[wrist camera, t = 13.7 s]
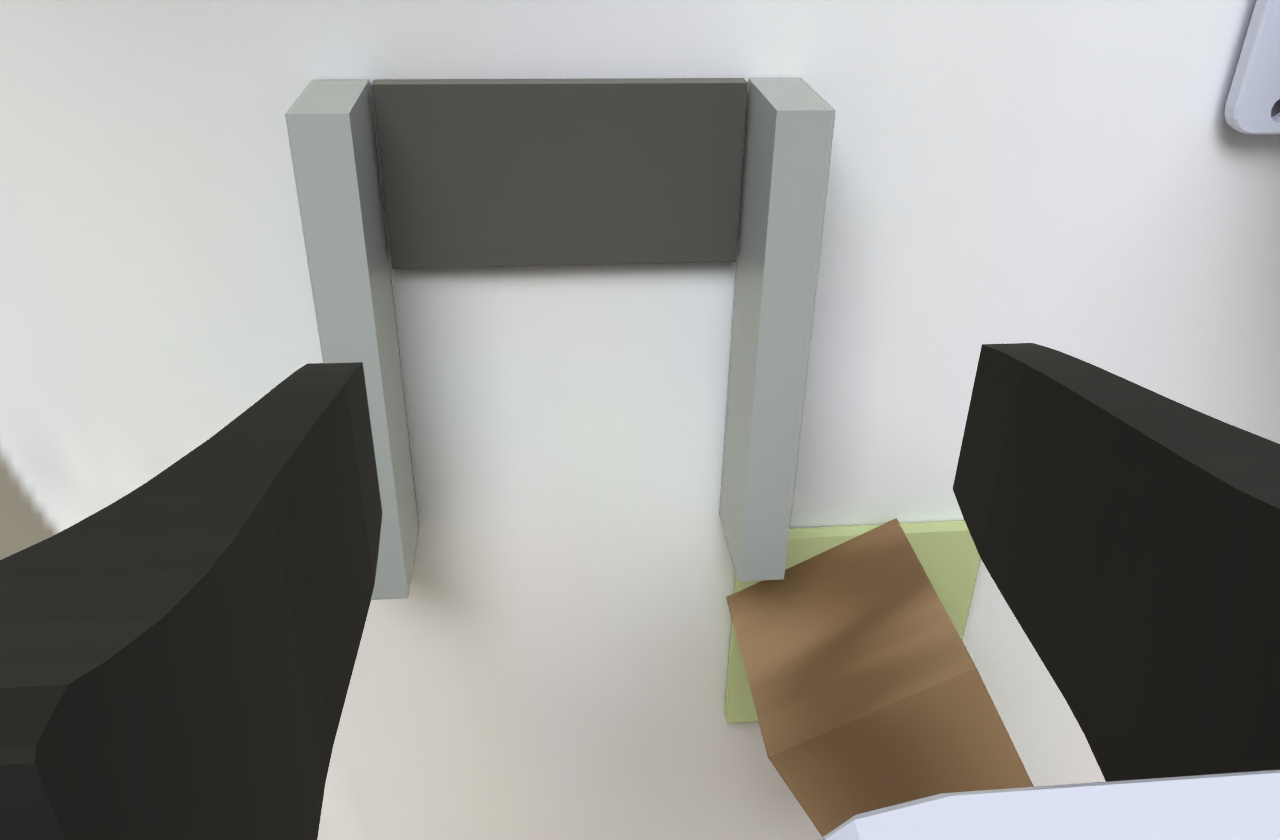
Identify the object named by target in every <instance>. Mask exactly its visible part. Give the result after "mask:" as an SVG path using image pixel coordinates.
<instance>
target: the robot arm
mask: <svg viewBox="0 0 1280 840" xmlns="http://www.w3.org/2000/svg"><path fill="white" fill-rule="evenodd" d="M1279 99H1280V0H1256V4H1255V7H1254V10H1253V14H1252V17H1251V21H1250V24H1249V27H1248V31H1247V34H1246V37H1245V41H1244V44H1243V48H1242V51H1241V54H1240V58H1239V61H1238V65H1237V68H1236V71H1235V75H1234V78H1233V81H1232V85H1231V88H1230V92H1229V95H1228V98H1227V102H1226V105H1225V114H1224V116H1225V119H1226V122H1227V124H1228V125H1229V126H1230V127H1231V128H1233V129H1234V130H1237V131H1239V132H1241V133H1245V134H1250V135H1273V134H1280V112H1279V113H1278V114H1276V115H1275V116H1274V117H1271V109H1272V107H1273V106H1274V104H1275V102H1276V101H1278V100H1279ZM953 491H954V493H955V496H956V499H957V501H958V504H959V507H960V509H961V512H962V515H963V517H964V520H965V523H966V525H967V528H968V530H969V532H970V535H971V537H972V539H973V542H974V544H975V546H976V549H977V551H978V553H979V556H980V557H981V559H982V561H983V563H984V564H985V566H986V568H987V570H988V572H989V573H990V575H991V577H992V578H993V580H994V582H995V583H996V585H997V587H998V589H999V590H1000V592H1001V594H1002V595H1003V597H1004V599H1005V600H1006V602H1007V604H1008V605H1009V607H1010V609H1011V610H1012V612H1013V614H1014V615H1015V617H1016V619H1017V620H1018V622H1019V624H1020V625H1021V627H1022V629H1023V630H1024V632H1025V633H1026V635H1027V637H1028V638H1029V640H1030V642H1031V643H1032V645H1033V647H1034V648H1035V650H1036V652H1037V653H1038V655H1039V657H1040V658H1041V660H1042V661H1043V663H1044V665H1045V666H1046V668H1047V670H1048V671H1049V673H1050V675H1051V676H1052V678H1053V680H1054V681H1055V683H1056V685H1057V686H1058V688H1059V690H1060V691H1061V693H1062V694H1063V696H1064V698H1065V699H1066V701H1067V703H1068V705H1069V707H1070V709H1071V710H1072V712H1073V714H1074V716H1075V718H1076V720H1077V721H1078V723H1079V725H1080V727H1081V729H1082V731H1083V732H1084V734H1085V737H1086V739H1087V741H1088V743H1089V745H1090V747H1091V750H1092V752H1093V754H1094V756H1095V758H1096V761H1097V763H1098V765H1099V767H1100V769H1101V771H1102V774H1103V776H1104V778H1105V780H1106V782H1096V783H1082V784H1068V785H1054V786H1039V787H1025V788H1011V789H997V790H982V791H968V792H954V793H941V794H937V795H933V796H929V797H925V798H921V799H917V800H913V801H909V802H905V803H901V804H897V805H893V806H889V807H885V808H881V809H877V810H873V811H869V812H865V813H861V814H857V815H855V816H853V817H852V818H850V819H849V820H847V821H846V822H844V823H843V824H841V825H840V826H838V827H837V828H836V829H834V830H833V831H831V832H830V833H828V834H827V835H825V836H824V837H822V838H821V839H819V840H1280V444H1278V443H1275V442H1273V441H1270V440H1268V439H1265V438H1262V437H1260V436H1257V435H1255V434H1252V433H1250V432H1247V431H1245V430H1242V429H1240V428H1237V427H1234V426H1232V425H1229V424H1227V423H1224V422H1222V421H1220V420H1217V419H1215V418H1213V417H1210V416H1208V415H1205V414H1203V413H1201V412H1198V411H1196V410H1194V409H1191V408H1189V407H1187V406H1184V405H1182V404H1180V403H1177V402H1175V401H1173V400H1171V399H1168V398H1166V397H1164V396H1162V395H1159V394H1157V393H1155V392H1153V391H1150V390H1148V389H1146V388H1144V387H1141V386H1139V385H1137V384H1135V383H1133V382H1130V381H1128V380H1126V379H1123V378H1121V377H1119V376H1117V375H1114V374H1112V373H1110V372H1108V371H1105V370H1103V369H1101V368H1099V367H1096V366H1094V365H1092V364H1089V363H1087V362H1084V361H1082V360H1080V359H1077V358H1075V357H1072V356H1070V355H1067V354H1065V353H1062V352H1059V351H1056V350H1053V349H1051V348H1048V347H1044V346H1040V345H1037V344H1033V343H1020V344H984V345H982V347H981V352H980V357H979V362H978V367H977V372H976V377H975V382H974V387H973V392H972V397H971V402H970V407H969V412H968V417H967V421H966V426H965V431H964V436H963V441H962V446H961V451H960V456H959V461H958V466H957V471H956V476H955V481H954V486H953ZM381 522H382V505H381V498H380V490H379V483H378V475H377V467H376V460H375V452H374V445H373V437H372V429H371V422H370V414H369V407H368V399H367V391H366V384H365V376H364V369H363V362H354V363H319V364H306V365H305V366H303V367H302V368H300V369H298V370H297V371H296V372H294V373H293V374H292V375H290V376H289V377H288V378H286V379H285V380H284V381H283V382H281V383H280V384H279V385H277V386H276V387H275V388H274V389H272V390H271V391H270V392H269V393H267V394H266V395H265V396H264V397H262V398H261V399H260V400H259V401H258V402H256V403H255V404H254V405H253V406H251V407H250V408H249V409H247V410H246V411H245V412H244V413H242V414H241V415H240V416H238V417H237V418H236V419H235V420H233V421H232V422H231V423H229V424H228V425H227V426H226V427H224V428H223V429H222V430H220V431H219V432H218V433H217V434H215V435H214V436H213V437H211V438H210V439H209V440H207V441H206V442H204V443H203V444H202V445H200V446H199V447H197V448H196V449H194V450H193V451H191V452H190V453H189V454H187V455H186V456H184V457H183V458H181V459H180V460H179V461H177V462H176V463H174V464H173V465H171V466H170V467H168V468H167V469H166V470H164V471H163V472H161V473H160V474H158V475H157V476H156V477H154V478H153V479H151V480H150V481H148V482H147V483H145V484H144V485H142V486H141V487H139V488H137V489H136V490H134V491H133V492H131V493H129V494H128V495H126V496H124V497H123V498H121V499H119V500H118V501H116V502H114V503H113V504H111V505H109V506H108V507H106V508H104V509H102V510H100V511H98V512H97V513H95V514H93V515H91V516H89V517H88V518H86V519H84V520H82V521H80V522H79V523H77V524H75V525H73V526H71V527H69V528H68V529H66V530H64V531H62V532H60V533H58V534H56V535H54V536H52V537H51V538H48V539H46V540H44V541H42V542H39V543H37V544H35V545H33V546H31V547H28V548H27V549H24V550H22V551H20V552H18V553H15V554H13V555H11V556H9V557H7V558H4V559H2V560H0V840H317V837H318V830H319V823H320V816H321V809H322V802H323V795H324V788H325V782H326V777H327V772H328V767H329V763H330V758H331V753H332V748H333V744H334V740H335V736H336V732H337V729H338V725H339V721H340V717H341V713H342V709H343V706H344V702H345V698H346V694H347V690H348V687H349V683H350V679H351V675H352V671H353V667H354V664H355V660H356V656H357V652H358V648H359V645H360V641H361V637H362V633H363V629H364V625H365V621H366V617H367V613H368V609H369V605H370V601H371V597H372V593H373V589H374V585H375V577H376V569H377V560H378V552H379V542H380V532H381Z"/></svg>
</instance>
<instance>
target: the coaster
mask: <svg viewBox="0 0 1280 840" xmlns="http://www.w3.org/2000/svg"><path fill="white" fill-rule="evenodd" d="M899 524H900V526H901V528H902V529H903V531H904V533H905V535H906V537H907V539H908V541H909V543H910V544H911V546H912V548H913V550H914V552H915V554H916V556H917V558H918V559H919V561H920V563H921V565H922V567H923V569H924V571H925V573H926V574H927V576H928V578H929V580H930V582H931V584H932V586H933V588H934V589H935V591H936V593H937V595H938V597H939V599H940V601H941V603H942V604H943V606H944V608H945V610H946V612H947V614H948V616H949V617H950V619H951V621H952V623H953V625H954V627H955V629H956V631H957V632H958V634H959V636H960V638H961V640H962V638H963V634H964V629H965V625H966V620H967V616H968V612H969V607H970V603H971V598H972V594H973V590H974V585H975V581H976V576H977V572H978V568H979V563H980V559H981V557H980V556H979V553H978V551H977V549H976V546H975V544H974V542H973V539H972V537H971V535H970V532H969V530H968V528H967V525H966V523H965V521H944V522H922V523H899ZM881 525H883V524H877V525H855V526H833V527H810V528H790V529H789V538H788V547H787V556H786V565H785V570H786V569H788V568H790V567H792V566H795V565H797V564H799V563H801V562H803V561H805V560H808V559H810V558H812V557H814V556H816V555H818V554H820V553H823V552H825V551H827V550H829V549H831V548H833V547H836V546H838V545H840V544H842V543H844V542H846V541H848V540H851V539H853V538H855V537H857V536H859V535H861V534H863V533H866V532H868V531H870V530H872V529H874V528H876V527H879V526H881ZM761 581H762V580H761ZM758 582H760V581H741V582H738V579H737V575H736V573H735V586H734V593H737V592H739V591H741V590H743V589H745V588H747V587H749V586H752V585H754V584H756V583H758ZM724 713H725V717H726V722H727V723H742V722H758V721H759V720H758V716H757V713H756V709H755V705H754V701H753V697H752V693H751V690H750V686H749V682H748V678H747V674H746V670H745V667H744V663H743V659H742V655H741V651H740V647H739V644H738V640H737V636H736V632H735V628H734V625H733V621H732V623H731V636H730V648H729V661H728V673H727V686H726V698H725V711H724Z"/></svg>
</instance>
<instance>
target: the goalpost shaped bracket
mask: <svg viewBox="0 0 1280 840" xmlns="http://www.w3.org/2000/svg"><path fill="white" fill-rule="evenodd" d="M747 85H748V99H747ZM372 91H373V100H374V109H375V118H376V127H377V136H378V145H379V155H380V164H381V173H382V182H383V191H384V200H385V209H386V218H387V227H388V236H389V245H390V255H391V264H392V269H402V268H451V267H501V266H549V265H598V264H648V263H696V262H736V276H735V291H734V306H733V321H732V335H731V350H730V365H729V380H728V395H727V409H726V424H725V439H724V454H723V469H722V483H721V498H720V513H719V515H720V518H721V522H722V525H723V529H724V533H725V536H726V540H727V543H728V547H729V550H730V554H731V557H732V561H733V564H734V568H735V572H736V575H737V579H738V582H741V581H761V580H782V579H784V574H785V565H786V556H787V547H788V538H789V529H790V520H791V511H792V502H793V492H794V483H795V474H796V465H797V456H798V447H799V438H800V429H801V420H802V411H803V401H804V392H805V383H806V374H807V365H808V356H809V347H810V338H811V329H812V320H813V311H814V301H815V292H816V283H817V274H818V265H819V256H820V247H821V238H822V229H823V220H824V211H825V201H826V192H827V183H828V174H829V165H830V156H831V147H832V138H833V129H834V120H835V109H834V108H833V107H832V106H830V105H829V104H828V103H827V102H826V101H825V100H824V99H823V98H822V97H821V96H820V95H819V94H818V93H817V92H815V91H814V90H813V89H812V88H811V87H810V86H809V85H808V84H807V83H806V82H805V81H804V80H803V79H802V78H749V84H748V83H747V82H746V80H745V79H744V78H678V79H410V80H374V81H373V83H372ZM746 99H747V113H746ZM745 114H746V128H745ZM285 116H286V123H287V129H288V136H289V142H290V149H291V155H292V162H293V168H294V175H295V181H296V188H297V194H298V201H299V208H300V214H301V221H302V227H303V234H304V240H305V247H306V253H307V260H308V266H309V273H310V279H311V286H312V293H313V299H314V306H315V312H316V319H317V325H318V332H319V338H320V345H321V351H322V358H323V363H354V362H363V369H364V376H365V384H366V391H367V399H368V407H369V414H370V422H371V429H372V437H373V445H374V452H375V460H376V467H377V475H378V483H379V490H380V498H381V505H382V522H381V532H380V542H379V552H378V560H377V569H376V577H375V585H374V589H373V593H372V597H371V600H377V599H398V598H408V597H409V590H410V583H411V577H412V570H413V563H414V556H415V549H416V543H417V536H418V529H419V526H418V517H417V508H416V499H415V490H414V481H413V472H412V463H411V454H410V445H409V436H408V427H407V418H406V409H405V400H404V391H403V382H402V373H401V364H400V355H399V346H398V337H397V328H396V319H395V310H394V301H393V292H392V283H391V274H390V265H389V256H388V247H387V238H386V229H385V220H384V211H383V202H382V193H381V184H380V175H379V166H378V157H377V148H376V139H375V130H374V121H373V112H372V103H371V94H370V85H369V80H312V81H311V82H310V84H309V85H308V86H307V87H306V89H305V90H304V91H303V92H302V94H301V95H300V96H299V97H298V99H297V100H296V101H295V102H294V104H293V105H292V106H291V107H290V109H289V110H288V111H287V112H286V113H285ZM744 129H745V143H744ZM743 144H744V158H743ZM742 159H743V173H742ZM741 174H742V187H741ZM740 189H741V202H740ZM739 204H740V217H739ZM738 219H739V232H738ZM737 233H738V247H737ZM736 248H737V261H736Z"/></svg>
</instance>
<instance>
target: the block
mask: <svg viewBox="0 0 1280 840" xmlns="http://www.w3.org/2000/svg"><path fill="white" fill-rule="evenodd" d="M726 598H727V602H728V605H729V609H730V613H731V617H732V621H733V625H734V628H735V632H736V636H737V640H738V644H739V647H740V651H741V655H742V659H743V663H744V667H745V670H746V674H747V678H748V682H749V686H750V690H751V693H752V697H753V701H754V705H755V709H756V713H757V716H758V720H759V724H760V728H761V732H762V735H763V739H764V743H765V747H766V751H767V755H768V758H769V759H770V761H771V762H772V764H773V765H774V767H775V768H776V770H777V771H778V772H779V774H780V775H781V777H782V778H783V780H784V781H785V783H786V784H787V786H788V787H789V789H790V790H791V791H792V793H793V794H794V796H795V797H796V799H797V800H798V802H799V803H800V805H801V806H802V808H803V809H804V810H805V812H806V813H807V815H808V816H809V818H810V819H811V821H812V822H813V824H814V825H815V827H816V828H817V829H818V831H819V832H820V834H821V835H822V837H824V836H825V835H827V834H828V833H830V832H831V831H833V830H834V829H836V828H837V827H838V826H840V825H841V824H843V823H844V822H846V821H847V820H849V819H850V818H852V817H853V816H855V815H857V814H861V813H865V812H869V811H873V810H877V809H881V808H885V807H889V806H893V805H897V804H901V803H905V802H909V801H913V800H917V799H921V798H925V797H929V796H933V795H937V794H941V793H954V792H968V791H982V790H997V789H1011V788H1025V787H1034V786H1033V784H1032V782H1031V780H1030V778H1029V776H1028V774H1027V772H1026V770H1025V768H1024V766H1023V763H1022V761H1021V759H1020V757H1019V755H1018V753H1017V751H1016V749H1015V747H1014V745H1013V743H1012V741H1011V739H1010V737H1009V734H1008V732H1007V730H1006V728H1005V726H1004V724H1003V722H1002V720H1001V718H1000V716H999V714H998V712H997V710H996V708H995V705H994V703H993V701H992V699H991V697H990V695H989V693H988V691H987V689H986V687H985V685H984V683H983V681H982V679H981V676H980V674H979V672H978V670H977V668H976V666H975V664H974V662H973V661H972V659H971V657H970V655H969V653H968V651H967V649H966V647H965V646H964V644H963V642H962V640H961V638H960V636H959V634H958V632H957V631H956V629H955V627H954V625H953V623H952V621H951V619H950V617H949V616H948V614H947V612H946V610H945V608H944V606H943V604H942V603H941V601H940V599H939V597H938V595H937V593H936V591H935V589H934V588H933V586H932V584H931V582H930V580H929V578H928V576H927V574H926V573H925V571H924V569H923V567H922V565H921V563H920V561H919V559H918V558H917V556H916V554H915V552H914V550H913V548H912V546H911V544H910V543H909V541H908V539H907V537H906V535H905V533H904V531H903V529H902V528H901V526H900V524H899V522H898V520H897V518H896V519H894V520H891V521H889V522H887V523H885V524H883V525H881V526H879V527H876V528H874V529H872V530H870V531H868V532H866V533H863V534H861V535H859V536H857V537H855V538H853V539H851V540H848V541H846V542H844V543H842V544H840V545H838V546H836V547H833V548H831V549H829V550H827V551H825V552H823V553H820V554H818V555H816V556H814V557H812V558H810V559H808V560H805V561H803V562H801V563H799V564H797V565H795V566H792V567H790V568H788V569H786V570H785V574H784V579H782V580H762V581H760V582H758V583H756V584H754V585H752V586H749V587H747V588H745V589H743V590H741V591H739V592H737V593H734V594H732V595H730V596H728V597H726Z"/></svg>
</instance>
